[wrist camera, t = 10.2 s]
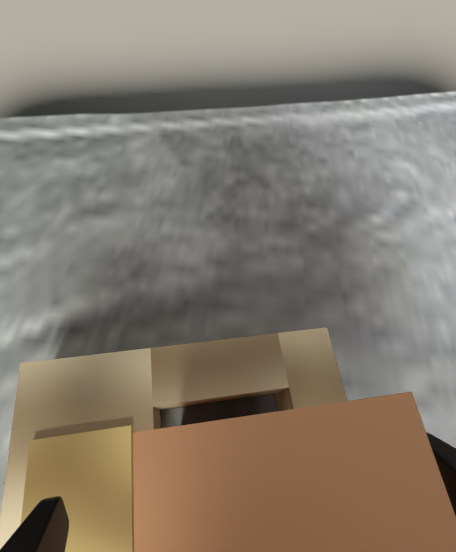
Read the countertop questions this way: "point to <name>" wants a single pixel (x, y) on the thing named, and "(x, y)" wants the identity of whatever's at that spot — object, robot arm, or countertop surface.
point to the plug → (294, 483)
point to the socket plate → (138, 419)
